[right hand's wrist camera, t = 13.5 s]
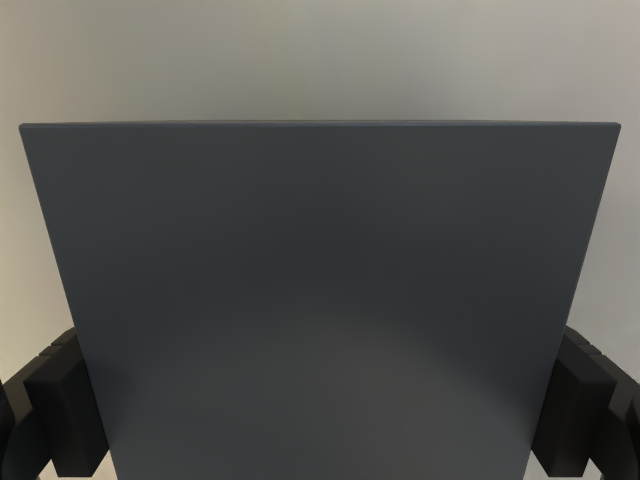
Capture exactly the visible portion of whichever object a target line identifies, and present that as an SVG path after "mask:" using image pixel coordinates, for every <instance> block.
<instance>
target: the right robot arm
mask: <svg viewBox="0 0 640 480" xmlns="http://www.w3.org/2000/svg"><path fill="white" fill-rule="evenodd" d="M108 450H109V446H108V443H107V439H106V436H105V432H104V429H103V425H102V422H101V418H100V415H99V411H98V407H97V404H96V400H95V397H94V393H93V390H92V386H91V383H90V379H89V376H88V372H87V369H86V365H85V361H84V358H83V354H82V351H81V347H80V344H79V340H78V337H77V333H76V330H75V327H73V328H71V329H69V330H67V331H65V332H64V333H63V334H62V335H61V336H59V337H58V338H57V339H56V340H55V341H54V342H52V343H51V346H48V347H47V348H45V349H44V350H43V351H42V352H41V353H40V354H39V356H36V357H35V358H34V359H32V360H31V361H30V362H29V363H28V364H27V365H25V366H24V367H23V368H22V369H21V370H20V371H18V372H17V373H16V374H15V375H14V376H13V377H11V378H10V379H9V380H8V381H7V382H5V383H4V384H3V385H2V382H1V380H0V480H40V477H39V474H40V473H41V471H42V470H43V469H44V467H45V466H46V465H47V464H48V462H49V461H50V460H51V459H52V462H53V465H54V467H55V470H56V473H57V475H58V477H92V476H93V474H94V472H95V471H96V469H97V468H98V466H99V465H100V463H101V461H102V460H103V458H104V457H105V455H106V453H107V452H108ZM531 450H532V451H533V453H534V455H535V456H536V458H537V459H538V461H539V463H540V464H541V466H542V467H543V469H544V470H545V472H546V474H547V475H548V477H582V476H583V473H584V471H585V468H586V465H587V463H588V460H589V457H590V459H591V460H592V461H593V463H594V464H595V465H596V466H597V468H598V469H599V470H600V471H601V473H602V475H601V477H600V480H640V385H639V384H638V383H637V382H636V381H635V380H634V379H632V378H631V377H630V376H629V375H628V374H626V373H625V372H624V371H623V370H622V369H621V368H619V367H618V366H617V365H616V364H615V363H613V362H612V361H611V360H610V359H609V358H607V357H606V356H605V355H602V352H600V351H599V350H598V349H597V348H596V347H594V346H593V345H590V342H589V341H587V340H586V339H585V338H584V337H583V336H581V335H580V334H579V333H578V332H577V331H576V330H574V329H572V328H570V327H568V326H565V330H564V333H563V337H562V341H561V344H560V348H559V351H558V355H557V359H556V362H555V366H554V369H553V373H552V376H551V380H550V384H549V387H548V391H547V394H546V398H545V402H544V405H543V409H542V412H541V416H540V420H539V423H538V427H537V430H536V434H535V438H534V441H533V445H532V448H531Z"/></svg>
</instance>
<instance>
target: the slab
mask: <svg viewBox="0 0 640 480" xmlns="http://www.w3.org/2000/svg"><path fill="white" fill-rule="evenodd" d="M620 129H621V124H619V123H617V122H564V121H500V120H172V121H120V122H67V123H23V124H21V125H19V131H20V135H21V138H22V142H23V145H24V149H25V152H26V156H27V160H28V163H29V167H30V170H31V174H32V177H33V181H34V184H35V188H36V191H37V195H38V198H39V202H40V206H41V209H42V213H43V216H44V220H45V223H46V227H47V230H48V234H49V237H50V241H51V245H52V248H53V252H54V255H55V259H56V262H57V266H58V269H59V273H60V276H61V280H62V284H63V287H64V291H65V294H66V298H67V301H68V305H69V308H70V312H71V315H72V319H73V322H74V326H75V330H76V333H77V337H78V340H79V344H80V347H81V351H82V354H83V358H84V361H85V365H86V369H87V372H88V376H89V379H90V383H91V386H92V390H93V393H94V397H95V400H96V404H97V407H98V411H99V415H100V418H101V422H102V425H103V429H104V432H105V436H106V439H107V443H108V446H109V450H110V454H111V457H112V461H113V464H114V468H115V471H116V475H117V478H118V480H523V477H524V473H525V470H526V466H527V463H528V459H529V455H530V452H531V448H532V445H533V441H534V438H535V434H536V430H537V427H538V423H539V420H540V416H541V412H542V409H543V405H544V402H545V398H546V394H547V391H548V387H549V384H550V380H551V376H552V373H553V369H554V366H555V362H556V359H557V355H558V351H559V348H560V344H561V341H562V337H563V333H564V330H565V326H566V323H567V319H568V315H569V312H570V308H571V305H572V301H573V297H574V294H575V290H576V287H577V283H578V280H579V276H580V272H581V269H582V265H583V262H584V258H585V254H586V251H587V247H588V244H589V240H590V236H591V233H592V229H593V226H594V222H595V219H596V215H597V211H598V208H599V204H600V201H601V197H602V193H603V190H604V186H605V183H606V179H607V175H608V172H609V168H610V165H611V161H612V157H613V154H614V150H615V147H616V143H617V140H618V136H619V132H620Z"/></svg>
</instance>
